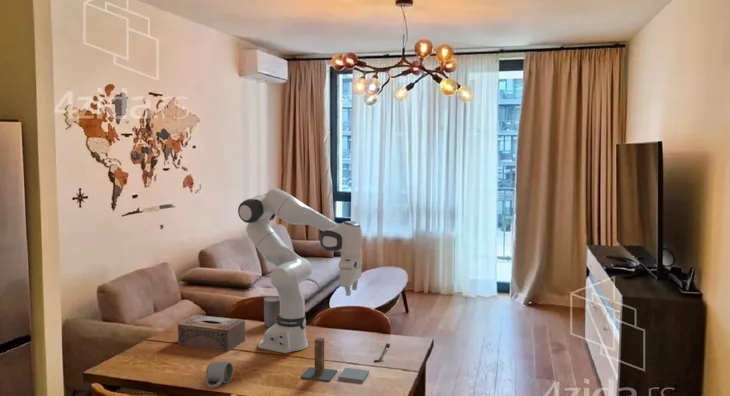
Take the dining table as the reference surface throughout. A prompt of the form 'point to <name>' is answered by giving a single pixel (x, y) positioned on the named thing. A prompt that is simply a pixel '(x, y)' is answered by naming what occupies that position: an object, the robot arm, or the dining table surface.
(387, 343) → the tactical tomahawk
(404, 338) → the dining table surface
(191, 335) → the tissue box cover
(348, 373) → the tile
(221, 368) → the ceramic mug
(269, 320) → the pillar candle
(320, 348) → the wooden block
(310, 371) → the mat
